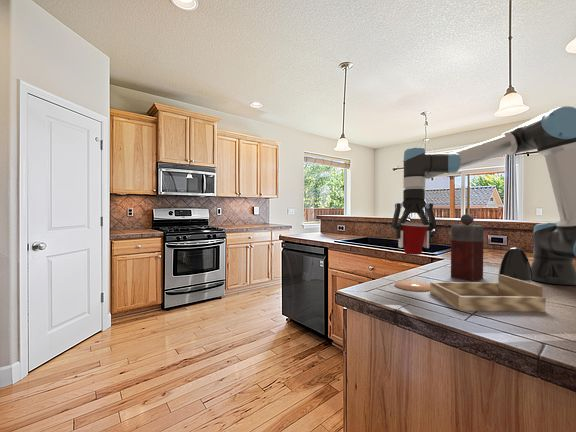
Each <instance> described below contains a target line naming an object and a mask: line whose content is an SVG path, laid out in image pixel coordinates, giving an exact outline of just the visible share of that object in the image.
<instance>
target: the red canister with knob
mask: <svg viewBox="0 0 576 432" xmlns="http://www.w3.org/2000/svg"><path fill="white" fill-rule="evenodd" d="M460 222H461V223H462V224H453V225H451V228H450V278H453V279H458V280H463V281H467V282H478V281H480V280H482V279H484V226H483V225H482V224H481V225H480V224H479V225H478V224H477V225H476V224H473V223H474V216H473V215H472V214H469V213H468V214H463V215H461V217H460Z"/></svg>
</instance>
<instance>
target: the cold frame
mask: <svg viewBox="0 0 576 432" xmlns="http://www.w3.org/2000/svg"><path fill="white" fill-rule="evenodd" d="M497 280H498V282H492V281H491V282H481V281H480V282H478V281H473V282H472V281H467V282H466V281H465V282H464V281H461V282H460V281H459V282H458V281H455V282H454V281H430V282H429V284H430V291H429V294H431V295H432V296H434V297H436V298H438V299H439V300H441V301H443V302H444V303H446V304H448V305H449V306H452V307H453V308H455V309H456V310H458V311H461V312H468V311H469V312H475V311H476V312H538V313H539V312H541V313H542V312H543V313H545V312H546V297H545V296H543V286H542V285H539V284H535V283H532V282H531V283H529V282H526V281H522V280H519V279H515V278H512V277H508V276H505V275H499V274H498V279H497Z"/></svg>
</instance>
